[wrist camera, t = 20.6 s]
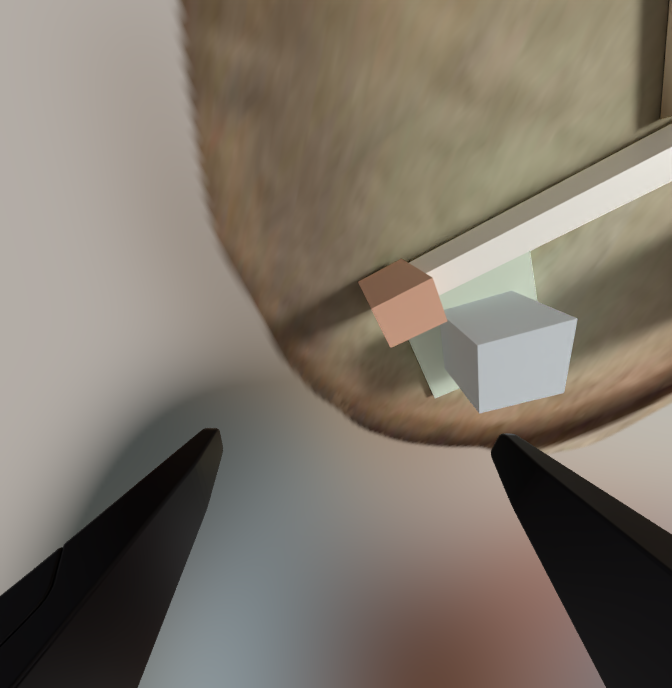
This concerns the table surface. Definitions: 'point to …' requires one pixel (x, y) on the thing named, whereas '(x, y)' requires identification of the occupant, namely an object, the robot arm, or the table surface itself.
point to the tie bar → (512, 236)
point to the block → (507, 350)
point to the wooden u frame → (667, 72)
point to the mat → (491, 283)
